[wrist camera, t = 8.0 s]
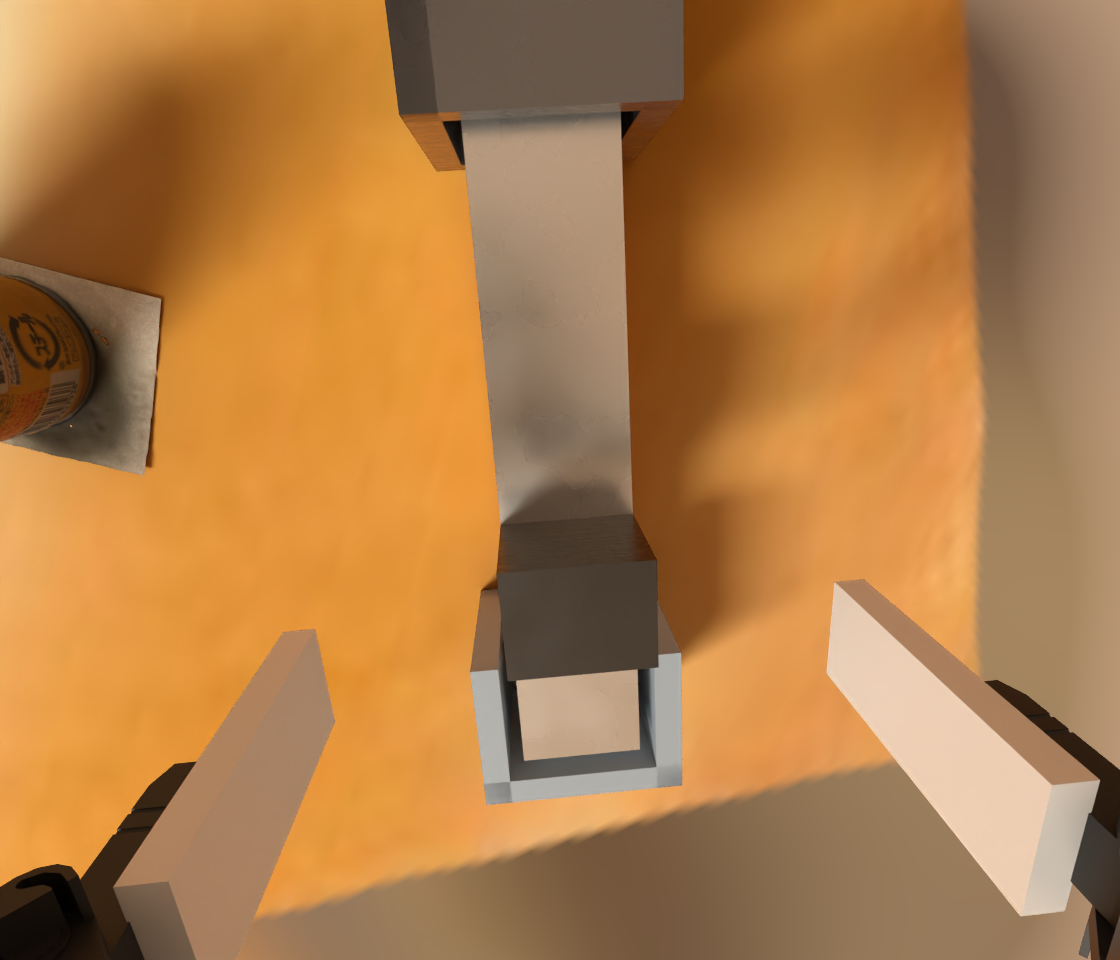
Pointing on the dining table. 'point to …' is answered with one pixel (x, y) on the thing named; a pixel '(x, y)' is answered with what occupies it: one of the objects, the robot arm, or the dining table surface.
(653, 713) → the socket
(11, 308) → the yellow drink bottle
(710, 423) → the dining table surface
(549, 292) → the light gray bar
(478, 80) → the sleeve
